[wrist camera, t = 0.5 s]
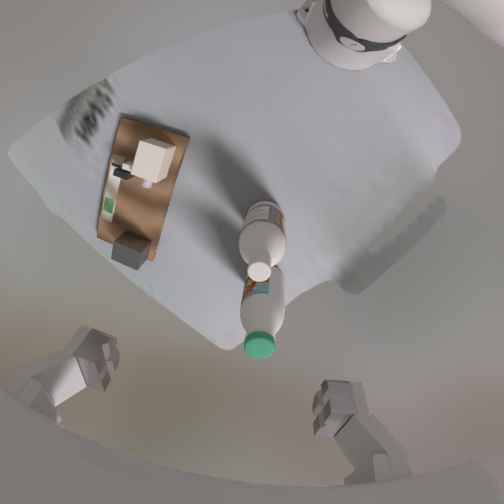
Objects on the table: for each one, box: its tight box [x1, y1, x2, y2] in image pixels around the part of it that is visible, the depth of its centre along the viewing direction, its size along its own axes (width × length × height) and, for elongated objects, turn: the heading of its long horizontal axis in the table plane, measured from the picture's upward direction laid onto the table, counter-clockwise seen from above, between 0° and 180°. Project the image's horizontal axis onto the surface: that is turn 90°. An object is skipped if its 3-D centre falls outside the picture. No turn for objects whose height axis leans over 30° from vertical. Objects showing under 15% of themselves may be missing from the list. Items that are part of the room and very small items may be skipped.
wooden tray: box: [97, 118, 190, 261], centre depth 51 cm, size 26×14×2 cm, turn 158°
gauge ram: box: [122, 138, 176, 188], centre depth 46 cm, size 8×8×5 cm
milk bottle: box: [240, 266, 285, 358], centre depth 50 cm, size 8×8×20 cm
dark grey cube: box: [111, 231, 152, 270], centre depth 53 cm, size 4×6×6 cm, turn 68°
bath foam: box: [239, 201, 286, 282], centre depth 44 cm, size 7×7×20 cm
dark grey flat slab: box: [113, 164, 135, 180], centre depth 47 cm, size 1×5×4 cm, turn 68°
